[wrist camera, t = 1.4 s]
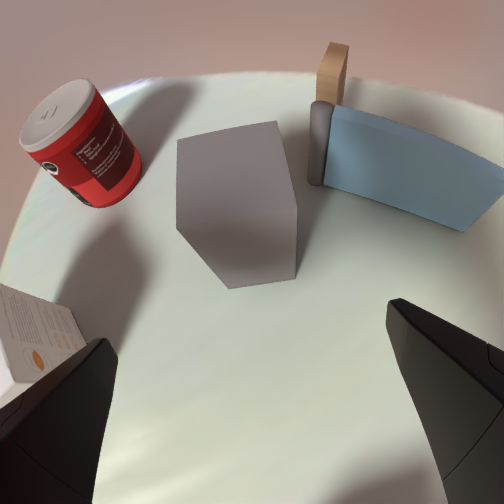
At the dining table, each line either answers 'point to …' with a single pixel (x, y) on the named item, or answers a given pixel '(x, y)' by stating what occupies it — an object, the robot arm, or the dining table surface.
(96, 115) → the canned food
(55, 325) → the small box
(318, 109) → the gate
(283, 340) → the dining table surface
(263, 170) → the block
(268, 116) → the dining table surface
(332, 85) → the brown wooden block
